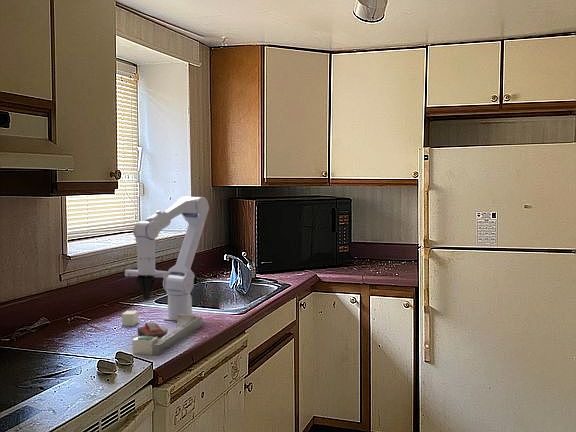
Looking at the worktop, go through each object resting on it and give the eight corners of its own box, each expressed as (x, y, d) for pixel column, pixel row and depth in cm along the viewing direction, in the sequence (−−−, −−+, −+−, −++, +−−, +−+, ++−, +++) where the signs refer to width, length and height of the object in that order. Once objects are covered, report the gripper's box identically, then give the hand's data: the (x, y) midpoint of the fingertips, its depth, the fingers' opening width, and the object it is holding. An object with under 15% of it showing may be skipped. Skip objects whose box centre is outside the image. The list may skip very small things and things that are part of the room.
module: (126, 322, 211) (126, 310, 211) (138, 322, 211) (138, 310, 210) (122, 325, 206) (121, 314, 206) (133, 326, 206) (133, 314, 205)
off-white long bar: (179, 324, 208) (179, 311, 208) (201, 325, 207) (201, 312, 206) (132, 353, 174) (132, 338, 174) (159, 355, 173) (158, 340, 172)
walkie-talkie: (176, 342, 187) (157, 327, 204) (175, 328, 187) (157, 314, 204) (147, 346, 183) (131, 331, 200) (147, 332, 182) (131, 317, 200)
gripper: (120, 258, 199) (120, 299, 200) (161, 260, 196) (162, 302, 197) (130, 255, 206) (130, 295, 207) (170, 257, 203) (170, 297, 204)
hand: (146, 298), depth 202 cm, fingers closed
